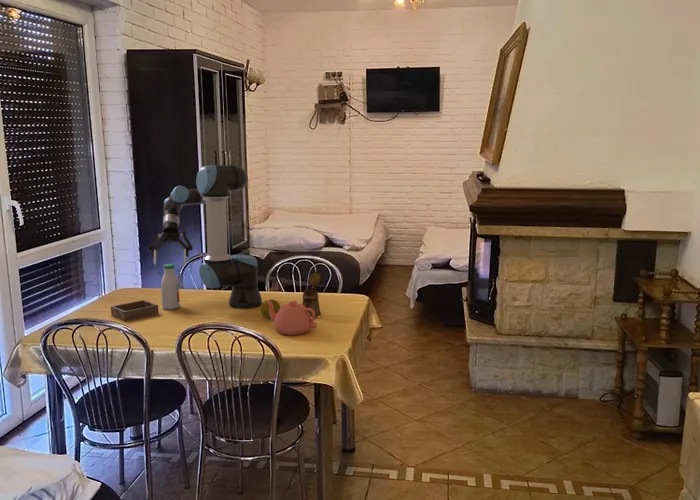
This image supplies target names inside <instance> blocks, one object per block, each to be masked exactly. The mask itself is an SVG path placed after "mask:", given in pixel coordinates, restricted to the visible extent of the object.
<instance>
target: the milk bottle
mask: <svg viewBox="0 0 700 500" xmlns="http://www.w3.org/2000/svg"><path fill="white" fill-rule="evenodd" d="M163 270H164V272H163V276H162V278H161V281H160V291H161V293H160V294H161V307H162V309H164V310H175V309H178V308H180V305H181V304H180V286H179V279H178V277H177V276H176V272H175V265H174V263H166V264H163Z"/></svg>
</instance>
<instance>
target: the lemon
mask: <svg viewBox="0 0 700 500" xmlns="http://www.w3.org/2000/svg"><path fill="white" fill-rule="evenodd" d="M267 300H268V301H270V302H272V304H273V306H274V311H275V313H276V314H277V312H278V311H279V309H280V308H281V305H280V303H279V301H277V300H275V299H267ZM260 314H261V315H262V316H263V317H264V318H266V319H269V320H271V318H270V311H269V305H268V303H267V302H266V301H265V300H264V302H262V305H260Z"/></svg>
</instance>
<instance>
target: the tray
mask: <svg viewBox="0 0 700 500" xmlns="http://www.w3.org/2000/svg"><path fill="white" fill-rule="evenodd" d="M110 314H111V316H112V317H114V318H116V319H119V320H122V321H123V322H127V321H131V320H138V319H140V318H145V317H146V316H147V317H150V315H151V316H155V315H154V314H156V315H158V314H159V305H158V304H157V303H153V302H151V301H148V300H147V299H146V300H145V299H141V300H136V301H131V302H127V303H121V304H120V303H119V304H116V305H111V306H110ZM159 315H160V314H159Z"/></svg>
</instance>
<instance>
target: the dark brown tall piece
mask: <svg viewBox="0 0 700 500" xmlns="http://www.w3.org/2000/svg"><path fill="white" fill-rule="evenodd" d="M322 280H323V276H322V274H321V273H320V272H318V271H315V272H313V273H311V274H310V275H309V277H308V284H309V285H310V288H309V289H305V290H303V293H302V303H301V304H303V305H304V306H305V307H306V308H311V309H313V310H314V312H315V317H318V316H320V315H321V316H322V313H321V312H322V311H321V309H320V301H319V293H318V290H317V286H319V285H320V284H321V283H322ZM308 312H309V313H310V315H311V317H312V312H311V311H309V310H308ZM321 316H320V317H321Z"/></svg>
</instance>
